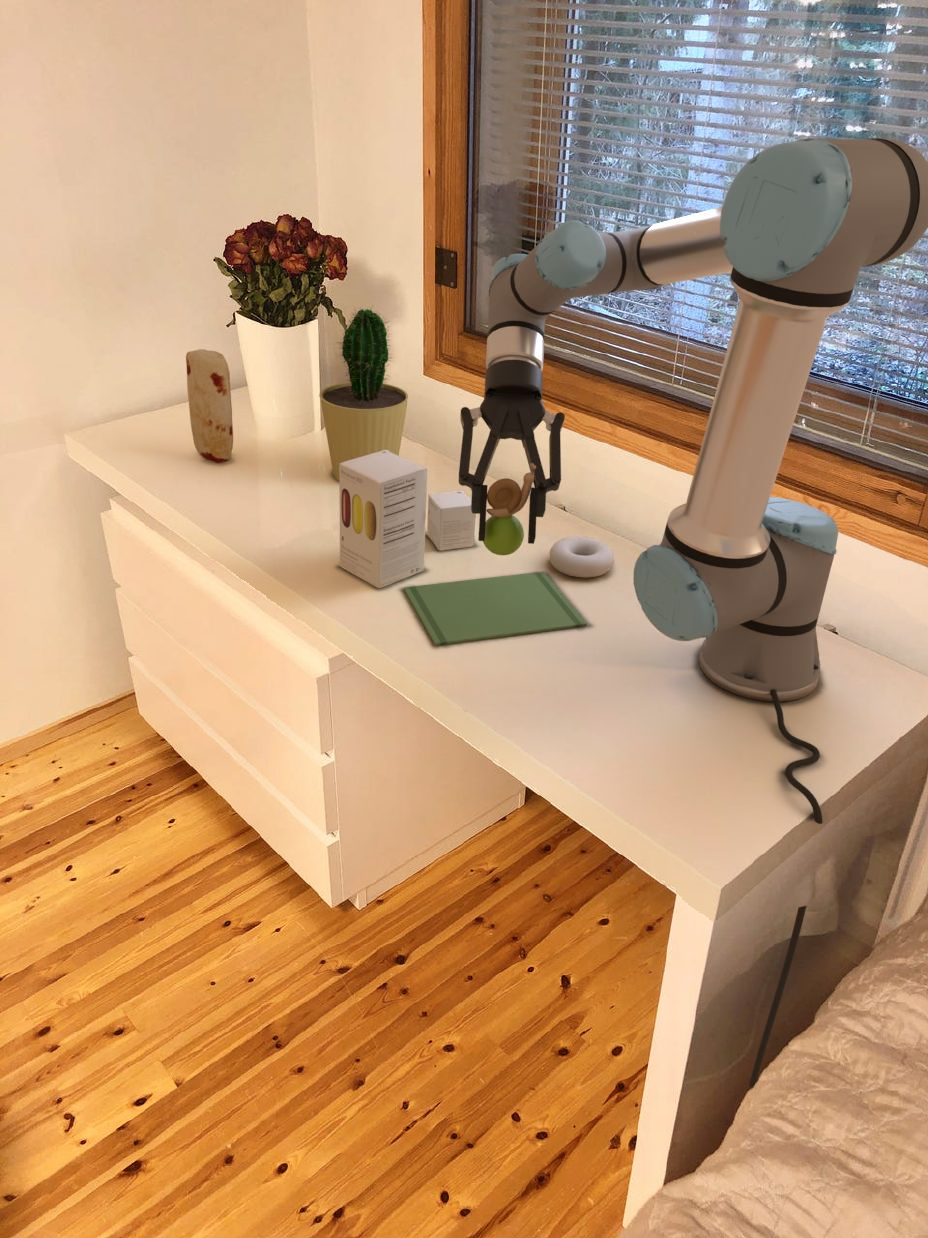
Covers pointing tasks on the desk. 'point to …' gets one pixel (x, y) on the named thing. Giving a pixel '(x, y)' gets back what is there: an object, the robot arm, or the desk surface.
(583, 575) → the donut
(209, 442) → the food model
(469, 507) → the product box
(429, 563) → the desk surface
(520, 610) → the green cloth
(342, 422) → the potted cactus
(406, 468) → the supplement box
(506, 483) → the snail figurine
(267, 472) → the desk surface
